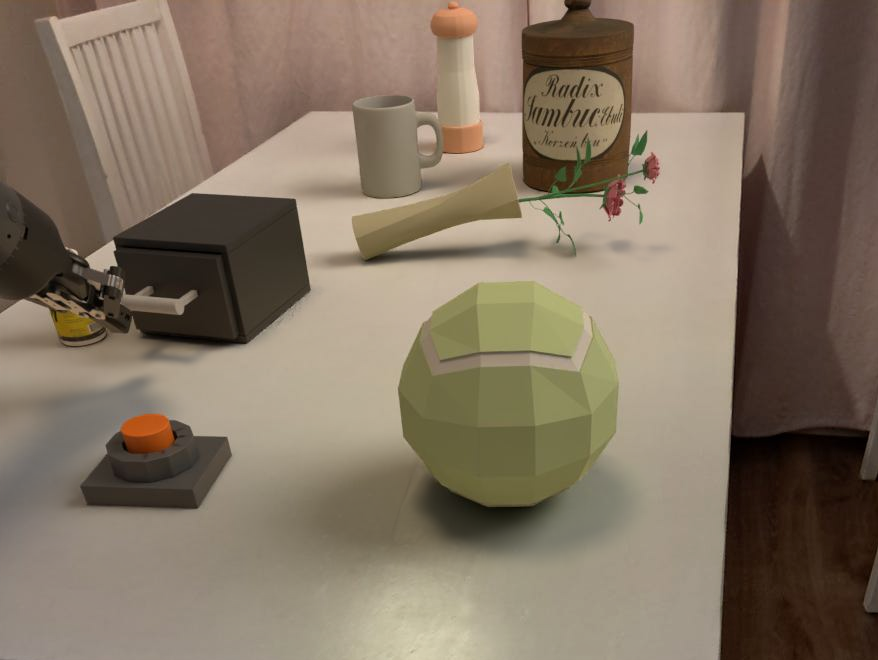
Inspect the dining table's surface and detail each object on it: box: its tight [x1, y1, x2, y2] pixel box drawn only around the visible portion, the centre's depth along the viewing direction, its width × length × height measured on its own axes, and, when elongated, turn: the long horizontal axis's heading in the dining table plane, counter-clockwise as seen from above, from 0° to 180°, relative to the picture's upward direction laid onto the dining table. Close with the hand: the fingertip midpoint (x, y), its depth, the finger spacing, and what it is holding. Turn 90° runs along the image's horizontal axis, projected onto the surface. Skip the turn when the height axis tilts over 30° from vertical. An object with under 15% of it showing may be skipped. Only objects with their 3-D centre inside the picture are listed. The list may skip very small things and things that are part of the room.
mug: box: [351, 94, 444, 199], centre depth 127 cm, size 12×8×11 cm
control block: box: [79, 419, 233, 509], centre depth 72 cm, size 9×8×4 cm
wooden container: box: [521, 0, 635, 194], centre depth 123 cm, size 15×15×22 cm
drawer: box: [112, 247, 240, 339], centre depth 93 cm, size 18×11×8 cm, turn 162°
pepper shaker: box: [429, 0, 484, 154], centre depth 140 cm, size 7×7×19 cm
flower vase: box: [351, 129, 660, 261], centre depth 107 cm, size 12×12×35 cm
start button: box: [120, 413, 174, 454], centre depth 71 cm, size 4×4×2 cm
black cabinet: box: [112, 192, 312, 344], centre depth 96 cm, size 15×13×10 cm
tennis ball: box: [397, 280, 620, 508], centre depth 65 cm, size 15×15×15 cm
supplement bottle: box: [48, 248, 108, 347], centre depth 93 cm, size 5×5×8 cm
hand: (124, 323), depth 84 cm, fingers closed
